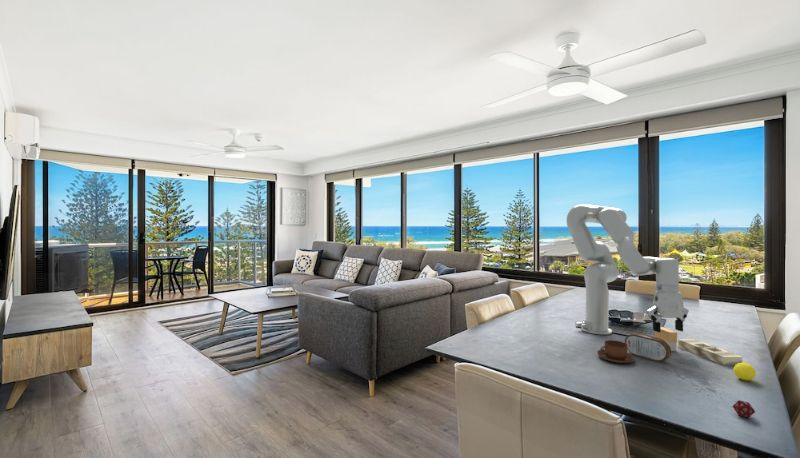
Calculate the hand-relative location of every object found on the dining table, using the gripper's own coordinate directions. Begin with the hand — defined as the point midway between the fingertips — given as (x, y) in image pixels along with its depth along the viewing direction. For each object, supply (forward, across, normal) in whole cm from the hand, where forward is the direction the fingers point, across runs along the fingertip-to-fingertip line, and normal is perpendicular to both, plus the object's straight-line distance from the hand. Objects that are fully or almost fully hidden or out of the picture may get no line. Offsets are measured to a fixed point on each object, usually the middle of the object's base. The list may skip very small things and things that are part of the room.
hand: (668, 330), depth 151 cm
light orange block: (+7, 0, +1) cm, 7 cm away
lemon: (+8, +1, -30) cm, 31 cm away
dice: (+8, -23, -51) cm, 56 cm away
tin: (+7, -16, -9) cm, 20 cm away
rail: (+7, +9, -8) cm, 14 cm away
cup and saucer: (+7, -30, -10) cm, 32 cm away
